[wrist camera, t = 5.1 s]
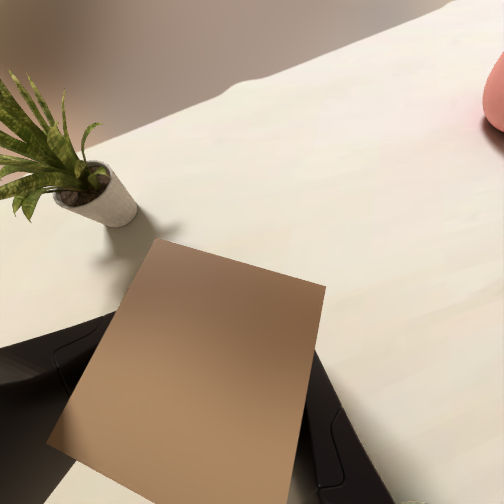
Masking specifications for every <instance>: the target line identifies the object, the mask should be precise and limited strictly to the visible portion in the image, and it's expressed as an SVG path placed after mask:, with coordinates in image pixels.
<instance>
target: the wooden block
mask: <svg viewBox="0 0 504 504" xmlns="http://www.w3.org/2000/svg"><path fill="white" fill-rule="evenodd" d="M325 289H326V286H322V285H319V284H315V283H312V282H308V281H305V280H301V279H298V278H294V277H291V276H287V275H284V274H280V273H277V272H273V271H270V270H266V269H263V268H259V267H256V266H252V265H249V264H245V263H242V262H239V261H235V260H232V259H228V258H225V257H221V256H218V255H214V254H211V253H207V252H204V251H200V250H197V249H193V248H190V247H186V246H183V245H179V244H176V243H172V242H169V241H165V240H162V239H158V238H155V240H154V242H153V244H152V246H151V248H150V250H149V251H148V253H147V255H146V257H145V259H144V261H143V263H142V264H141V266H140V268H139V270H138V272H137V274H136V276H135V278H134V279H133V281H132V283H131V285H130V287H129V289H128V291H127V293H126V294H125V296H124V298H123V300H122V302H121V304H120V306H119V307H118V309H117V311H116V313H115V315H114V317H113V319H112V321H111V322H110V324H109V326H108V328H107V330H106V332H105V334H104V336H103V337H102V339H101V341H100V343H99V345H98V347H97V349H96V350H95V352H94V354H93V356H92V358H91V360H90V362H89V364H88V365H87V367H86V369H85V371H84V373H83V375H82V377H81V378H80V380H79V382H78V384H77V386H76V388H75V390H74V392H73V393H72V395H71V397H70V399H69V401H68V403H67V405H66V407H65V408H64V410H63V412H62V414H61V416H60V418H59V420H58V421H57V423H56V425H55V427H54V429H53V431H52V433H51V435H50V436H49V438H48V440H47V442H46V444H48V445H50V446H52V447H54V448H55V449H57V450H59V451H61V452H63V453H65V454H66V455H68V456H70V457H72V458H74V459H75V460H77V461H79V462H81V463H83V464H85V465H86V466H88V467H90V468H92V469H94V470H95V471H97V472H99V473H101V474H103V475H104V476H106V477H108V478H110V479H112V480H114V481H115V482H117V483H119V484H121V485H123V486H124V487H126V488H128V489H130V490H132V491H134V492H135V493H137V494H139V495H141V496H143V497H144V498H146V499H148V500H150V501H152V502H154V503H155V504H286V503H287V498H288V492H289V487H290V481H291V476H292V470H293V465H294V459H295V454H296V448H297V443H298V438H299V432H300V427H301V421H302V416H303V410H304V405H305V399H306V394H307V388H308V383H309V377H310V372H311V366H312V361H313V355H314V350H315V344H316V339H317V333H318V328H319V322H320V317H321V311H322V306H323V300H324V295H325Z"/></svg>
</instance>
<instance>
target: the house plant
mask: <svg viewBox="0 0 504 504" xmlns="http://www.w3.org/2000/svg"><path fill="white" fill-rule="evenodd" d="M9 72H10V74H11V77H12V78H13V80H14V81H15V83H16V85H17V88H18V90H19V92H20V93H21V95H22V96H23V98H24V99H25V101H26V102H27V104H28V105H29V107H30V109H31V110H32V112H33V114H34V115H35V117H36V118H37V120H38V121H39V123H40V125H41V126H42V127H43V129H44V130H43V131H42V130H40V128H38V127H37V125H35V124H34V123H33V122H32V120H31V119H30V118H29V117H28V116H27V114H26V113H25V112H24V111H23V109H21V107H20V106H19V105H18V103H17V102H16V101H15V99H14V98H13V96H12V95H11V94H10V92H9V91H8V90H7V88H6V86H5V85H4V84H3V82H2V81H1V79H0V121H1V122H3V124H5V125H6V126H7V127H8V128H9V129H10V130H11V131H13V132H14V133H15V134H16V135H17V136H19V137H20V138H21V139H22V140H23V141H25V142H26V143H25V142H22V141H20V140H18V139H15V138H13V137H11V136H10V135H8V134H6V133H4V132H2V131H0V146H1V147H3V148H6V149H8V150H11V151H13V152H16V153H18V154H21V155H23V156H25V157H28V158H31V159H33V160H35V161H37V162H35V161H32V160H28V159H24V158H19V157H13V156H7V155H0V165H5V166H4V167H3V168H2V169H1V170H0V180H1V178H2V177H4V176H6V175H8V174H11V173H14V172H18V171H19V172H28V173H33V174H32V175H29V176H26V177H23V178H20V179H18V180H15V181H13V182H10V183H8V184H5V185H3V186H1V187H0V200H2V199H6V198H10V197H15V198H14V200H13V204H12V207H13V212H14V214H15V212H16V211H17V210H18V209H19V208H20V207H21V206H22V210H23V213H24V215H25V216H26V218H27V219H28V220H29V221H30V219H31V216H32V214H33V212H34V209H35V207H36V204H37V202H38V199H39V198H40V196H41V195H42V194H44V193H53V198H54V200H55V202H56V203H57V204H58V205H59V206H61V207H63V208H65V209H68V210H70V211H72V212H75V213H77V214H80V215H82V216H85V217H87V218H90V219H92V220H95V221H97V222H100V223H102V224H104V225H107V226H109V227H113V228H118V227H122V226H124V225H127V224H128V223H129V222H131V221H132V220H133V219H134V217H135V215H136V213H137V204H136V202H135V201H134V199H133V198H132V197H131V195H130V194H129V193H128V191H127V190H126V188H125V187H124V186H123V184H122V183H121V182H120V180H119V179H118V177H117V176H116V175H115V173H114V172H113V171H112V169H111V168H110V167H109V165H107V164H106V163H104V162H101V161H97V160H89V161H86V159H85V154H84V143H85V140H86V138H87V136H88V134H89V133H90V131H91V130H92V129H93V128H94V127H96V126H97V125H101V124H102V123H94V124H91V125H90V126H88V127H87V129H86V130H85V132H84V135H83V138H82V143H81V146H82V147H81V151H82V154H83V158H84V161H83V160H79V158H78V156H77V155H76V153H75V151H74V149H73V147H72V144H71V141H70V138H69V135H68V132H67V126H66V117H65V109H64V96H65V91H64V94H63V99H62V115H63V130H64V135H65V136H64V135H61V133H60V131H59V129H58V127H57V125H56V124H58V122H54V119H53V117H52V115H51V113H50V111H49V108H48V106H47V104H46V103H45V101H44V99H43V98H42V96H41V94H40V93H39V91H38V90H37V88H36V86H35V84H34V83H33V82H32V80H31V79H30V77H29V76H28V78H29V81H30V84H31V86H32V88H33V90H34V92H35V96H36V98H37V100H38V103H39V104H40V106H41V108H42V110H43V111H44V113H45V115H46V117H47V119H48V121H49V123H50V126H48V125H47V123H46V122H45V120H44V119H43V117H42V116H41V114H40V112H39V111H38V109H37V107H36V105H35V103H34V102H33V100H32V99H31V97H30V95H29V94H28V93H27V91H26V90H25V89H24V87H23V86H22V85H21V83H20V82H19V81H18V80H17V78H16V77H15V76H14V75H13V73H12V72H11V71H10V70H9ZM11 159H15V160H11ZM16 160H20V161H16ZM39 162H40V163H39ZM48 186H54V187H49V188H43V187H48ZM41 188H42V189H41ZM49 189H53V190H49ZM46 190H49V191H46ZM15 217H16V215H15ZM30 222H31V221H30Z"/></svg>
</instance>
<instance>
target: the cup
mask: <svg viewBox="0 0 504 504" xmlns="http://www.w3.org/2000/svg"><path fill="white" fill-rule="evenodd" d="M400 504H427V503H424V502H419V501H414V500H410V501H404V502H402V503H400Z"/></svg>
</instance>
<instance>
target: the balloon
mask: <svg viewBox="0 0 504 504" xmlns="http://www.w3.org/2000/svg"><path fill="white" fill-rule="evenodd" d="M483 110H484V113H485V116H486V118H487V119H488V121H489V122H490V123H491V124H492V125H493V126H494V127H495V128H497V129H498V130H500V131H502V132H504V52H503V53H502V55H501V56H500V58H499V59H498V61H497V62H496V64H495V65H494V67H493V69H492V71H491V73H490V75H489V77H488V79H487V82H486V85H485V88H484V92H483Z"/></svg>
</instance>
